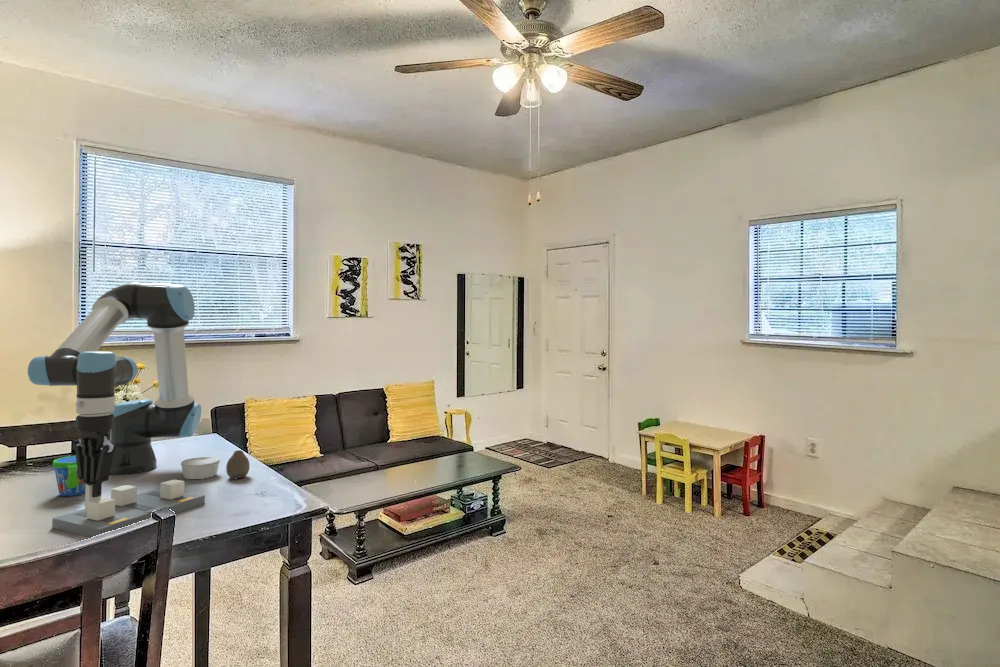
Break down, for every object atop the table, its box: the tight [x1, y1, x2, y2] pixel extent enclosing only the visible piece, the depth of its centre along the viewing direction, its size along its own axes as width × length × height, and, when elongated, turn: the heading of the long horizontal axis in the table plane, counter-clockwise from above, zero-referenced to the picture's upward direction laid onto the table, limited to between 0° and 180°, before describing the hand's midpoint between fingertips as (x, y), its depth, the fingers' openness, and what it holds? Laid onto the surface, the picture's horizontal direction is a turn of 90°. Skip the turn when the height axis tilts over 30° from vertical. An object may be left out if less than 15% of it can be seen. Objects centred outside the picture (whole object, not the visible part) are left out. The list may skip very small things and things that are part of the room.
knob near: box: [87, 496, 115, 521], centre depth 130 cm, size 4×4×4 cm
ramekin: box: [180, 456, 221, 480], centre depth 175 cm, size 11×11×5 cm
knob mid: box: [110, 484, 138, 506], centre depth 140 cm, size 4×4×4 cm
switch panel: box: [51, 487, 206, 538], centre depth 139 cm, size 17×28×3 cm, turn 159°
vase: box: [225, 450, 251, 479], centre depth 175 cm, size 7×7×9 cm
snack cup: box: [52, 454, 85, 497], centre depth 155 cm, size 16×10×10 cm
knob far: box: [159, 478, 185, 500], centre depth 147 cm, size 4×4×4 cm
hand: (92, 509), depth 131 cm, fingers closed
